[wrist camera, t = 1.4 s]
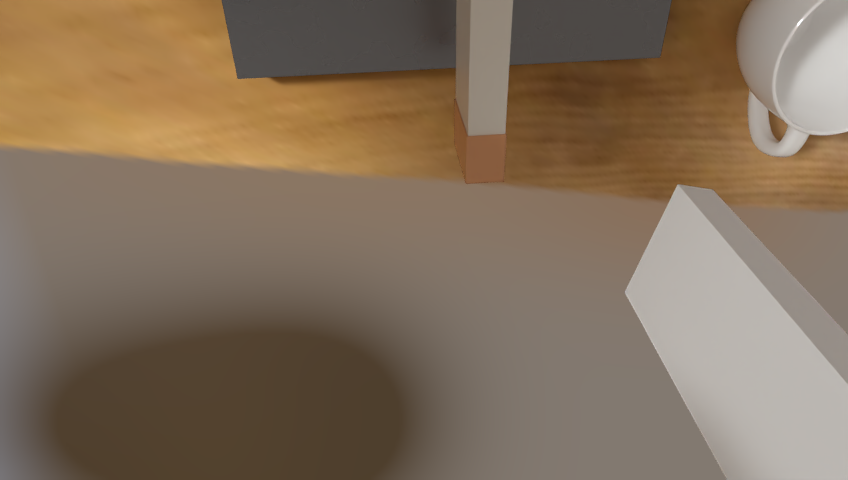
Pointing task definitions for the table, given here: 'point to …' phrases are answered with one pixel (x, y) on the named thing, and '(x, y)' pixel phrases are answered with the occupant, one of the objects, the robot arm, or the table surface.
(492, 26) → the white lever
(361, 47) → the base plate
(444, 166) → the table surface
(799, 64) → the cup
